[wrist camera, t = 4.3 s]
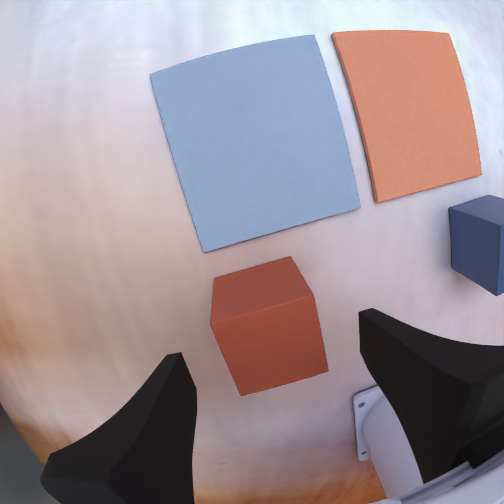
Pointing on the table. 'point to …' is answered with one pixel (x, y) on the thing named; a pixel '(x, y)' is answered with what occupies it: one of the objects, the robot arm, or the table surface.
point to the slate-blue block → (479, 241)
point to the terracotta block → (267, 326)
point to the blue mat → (256, 140)
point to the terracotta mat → (409, 109)
